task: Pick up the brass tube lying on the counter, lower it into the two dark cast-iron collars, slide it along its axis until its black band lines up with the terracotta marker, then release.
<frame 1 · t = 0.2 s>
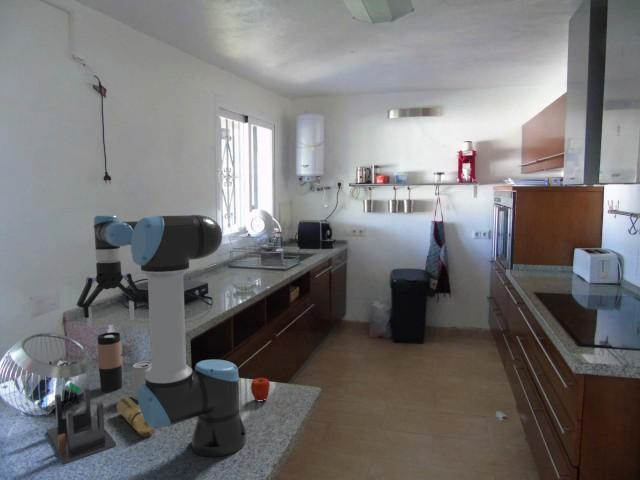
hand: (111, 323, 154), 27 cm above the countertop, fingers open, 13 cm apart
apple: (260, 400, 156), on the countertop
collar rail: (80, 438, 131), on the countertop
tube: (135, 424, 140), on the countertop
can: (143, 397, 159), on the countertop
travel mug: (111, 388, 167), on the countertop
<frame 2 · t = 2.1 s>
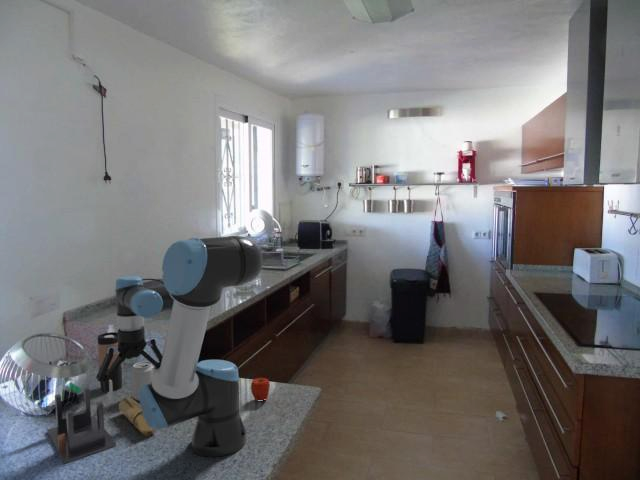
hand: (133, 394, 139), 9 cm above the countertop, fingers open, 13 cm apart
tube: (135, 423, 140), on the countertop, tilted 16°
everything else where it was.
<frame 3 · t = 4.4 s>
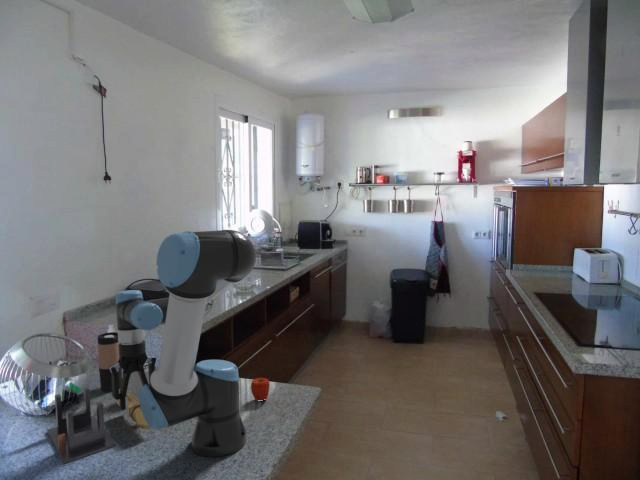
hand: (136, 415, 139), 3 cm above the countertop, fingers closed on tube, 5 cm apart
tube: (133, 417, 138), point 3 cm above the countertop, tilted 19°, touching gripper
everything else where it was.
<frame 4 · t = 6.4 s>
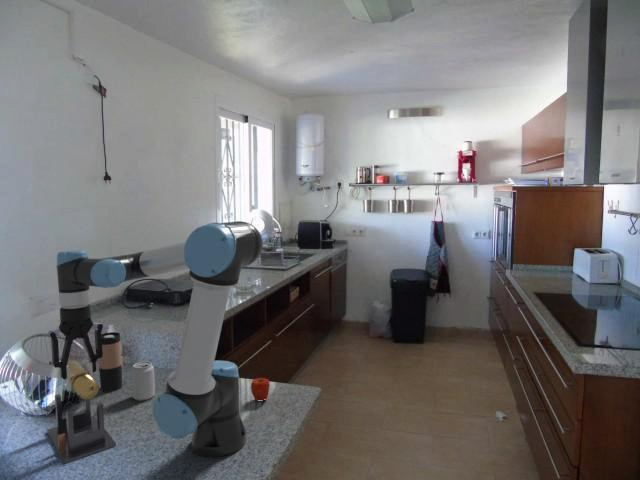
hand: (79, 386, 128), 17 cm above the countertop, fingers closed on tube, 5 cm apart
tube: (76, 387, 128), point 16 cm above the countertop, tilted 19°, touching gripper
everything else where it was.
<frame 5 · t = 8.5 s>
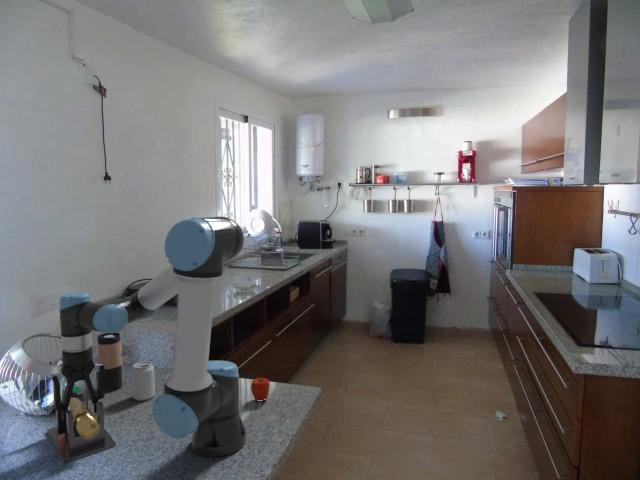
hand: (81, 427, 129), 4 cm above the countertop, fingers closed on tube, 5 cm apart
tube: (78, 426, 129), point 5 cm above the countertop, tilted 17°, touching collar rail, gripper
everything else where it was.
when the fingers open (3 cm above the countertop, at t = 9.8 s): tube stays where it is, resting on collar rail.
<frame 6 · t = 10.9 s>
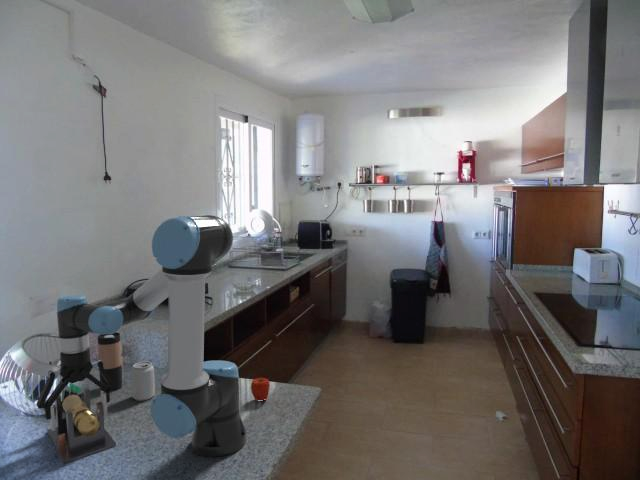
hand: (79, 421, 131), 5 cm above the countertop, fingers open, 13 cm apart
tube: (77, 423, 131), point 5 cm above the countertop, tilted 21°, touching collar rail
everything else where it was.
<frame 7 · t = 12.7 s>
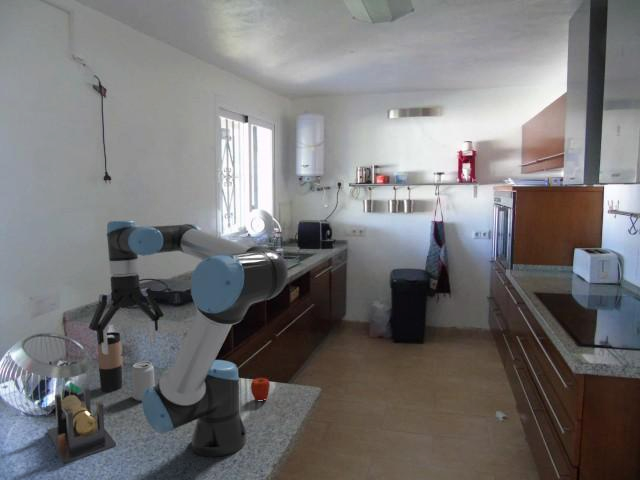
hand: (129, 347, 130), 26 cm above the countertop, fingers open, 13 cm apart
tube: (77, 423, 131), point 5 cm above the countertop, tilted 11°, touching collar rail
everything else where it was.
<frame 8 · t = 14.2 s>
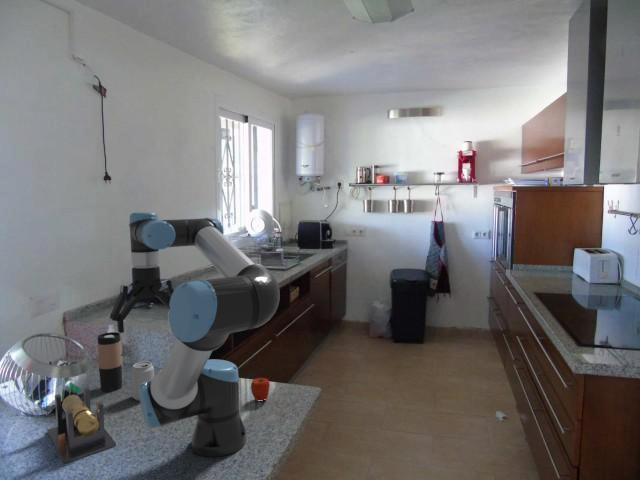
hand: (149, 338, 132), 29 cm above the countertop, fingers open, 13 cm apart
tube: (77, 423, 131), point 5 cm above the countertop, tilted 20°, touching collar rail
everything else where it was.
at the end: tube 0.7 cm off-centre on the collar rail, point 4.9 cm above the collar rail's base; the gripper is holding nothing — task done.
